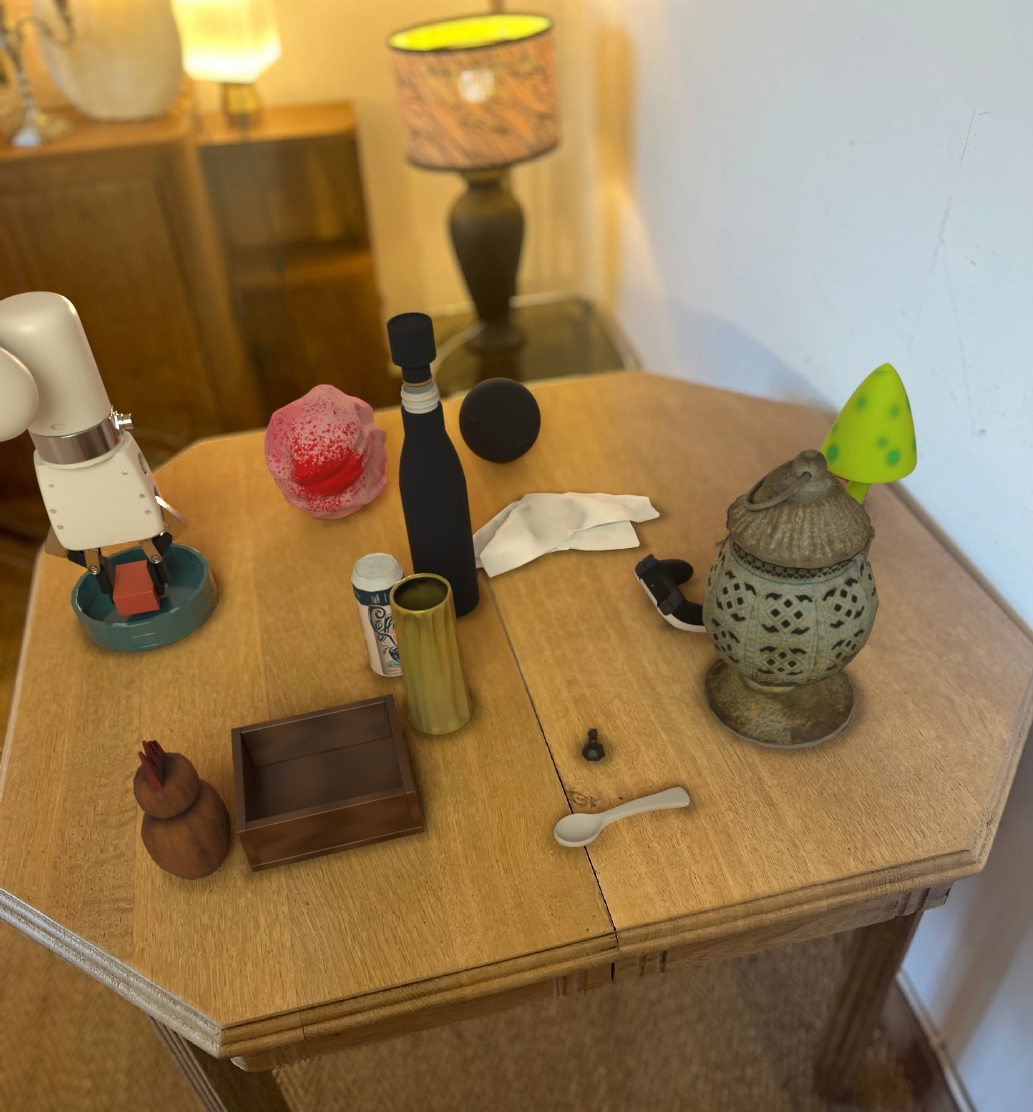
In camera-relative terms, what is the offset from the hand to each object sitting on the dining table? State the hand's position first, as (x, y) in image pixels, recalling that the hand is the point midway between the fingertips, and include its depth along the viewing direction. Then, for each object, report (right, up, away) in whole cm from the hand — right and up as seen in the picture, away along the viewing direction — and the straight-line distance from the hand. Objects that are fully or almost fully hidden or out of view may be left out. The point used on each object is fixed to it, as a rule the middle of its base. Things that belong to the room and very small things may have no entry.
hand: (138, 590), depth 103 cm
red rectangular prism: (0, -1, +1) cm, 1 cm away
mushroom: (+72, -1, -4) cm, 73 cm away
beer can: (+28, -8, -7) cm, 30 cm away
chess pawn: (+46, -16, -17) cm, 52 cm away
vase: (+33, -13, -12) cm, 37 cm away
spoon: (+48, -21, -22) cm, 58 cm away
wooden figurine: (+14, -24, -22) cm, 36 cm away
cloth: (+43, +8, +8) cm, 45 cm away
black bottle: (+33, -1, 0) cm, 33 cm away
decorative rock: (+19, +11, +14) cm, 26 cm away
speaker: (+38, +19, +20) cm, 47 cm away
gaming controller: (+56, -2, -4) cm, 56 cm away
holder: (+24, -20, -19) cm, 36 cm away
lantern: (+63, -11, -13) cm, 66 cm away
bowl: (0, -2, +2) cm, 3 cm away
